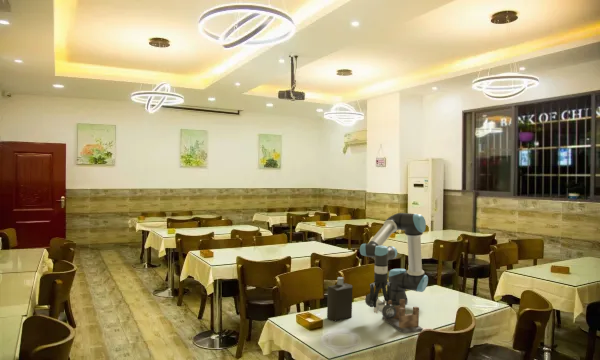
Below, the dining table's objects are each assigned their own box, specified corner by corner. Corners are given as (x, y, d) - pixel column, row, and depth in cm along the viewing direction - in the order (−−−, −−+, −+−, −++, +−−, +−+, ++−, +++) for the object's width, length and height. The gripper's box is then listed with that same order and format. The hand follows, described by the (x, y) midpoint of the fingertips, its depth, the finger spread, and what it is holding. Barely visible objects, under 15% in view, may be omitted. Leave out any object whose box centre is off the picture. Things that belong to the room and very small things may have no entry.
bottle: (353, 317, 264) (354, 277, 263) (333, 322, 254) (335, 281, 254) (344, 313, 270) (345, 274, 270) (325, 318, 261) (326, 278, 260)
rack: (402, 333, 239) (403, 311, 239) (382, 318, 262) (382, 298, 262) (422, 330, 243) (423, 309, 243) (400, 316, 266) (401, 297, 266)
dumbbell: (383, 320, 234) (383, 306, 234) (365, 306, 256) (365, 293, 256) (396, 318, 237) (396, 304, 236) (376, 305, 258) (377, 292, 258)
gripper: (370, 275, 239) (369, 315, 240) (398, 273, 244) (397, 312, 245) (364, 272, 246) (363, 311, 247) (391, 270, 252) (390, 308, 252)
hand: (380, 312), depth 246 cm, fingers closed on dumbbell, 5 cm apart
